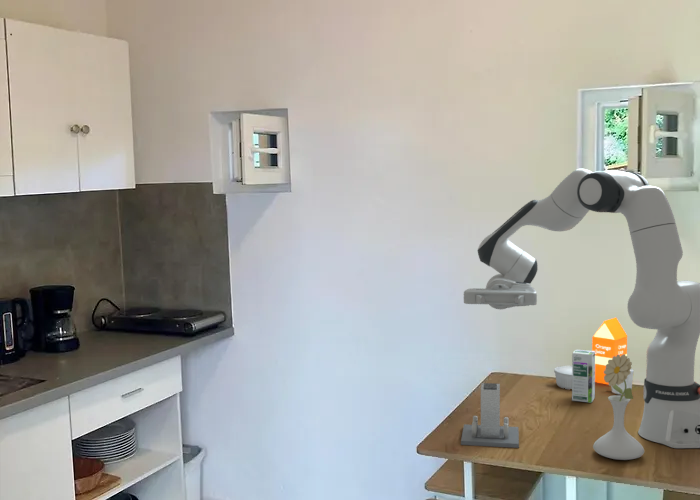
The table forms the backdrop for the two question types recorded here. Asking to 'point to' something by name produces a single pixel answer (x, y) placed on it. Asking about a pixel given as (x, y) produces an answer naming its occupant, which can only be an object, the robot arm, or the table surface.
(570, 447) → the table surface
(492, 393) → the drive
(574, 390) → the syrup box
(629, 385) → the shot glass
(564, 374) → the ramekin
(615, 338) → the orange juice
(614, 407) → the flower in vase
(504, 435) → the stand
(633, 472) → the table surface
